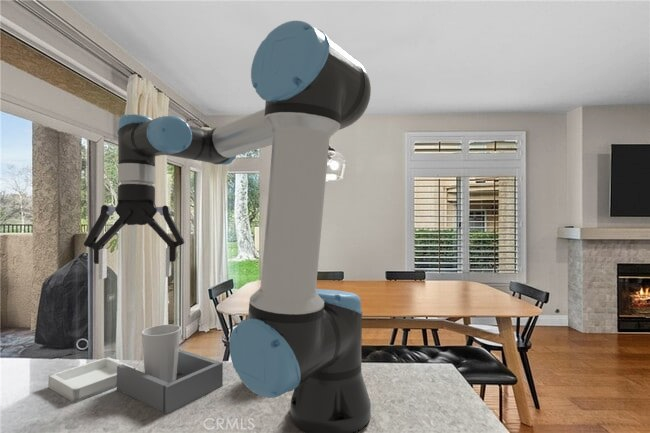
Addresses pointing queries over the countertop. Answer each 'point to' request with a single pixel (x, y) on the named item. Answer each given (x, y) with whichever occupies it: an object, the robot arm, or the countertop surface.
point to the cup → (161, 351)
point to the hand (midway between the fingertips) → (136, 277)
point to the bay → (171, 396)
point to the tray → (86, 379)
